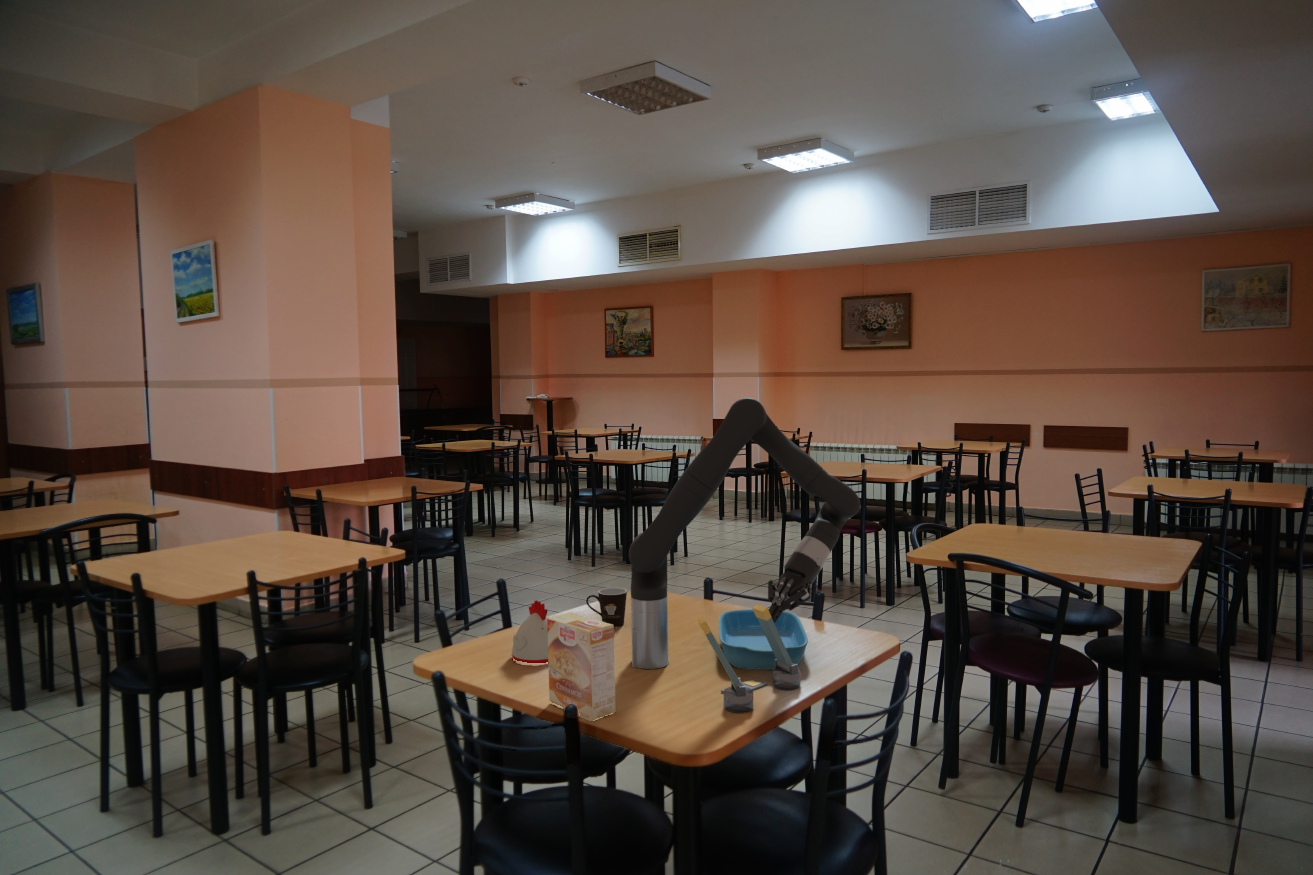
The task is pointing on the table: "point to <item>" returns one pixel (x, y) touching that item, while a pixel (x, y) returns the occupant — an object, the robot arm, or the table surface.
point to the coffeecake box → (581, 664)
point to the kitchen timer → (532, 636)
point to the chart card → (752, 684)
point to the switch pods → (743, 695)
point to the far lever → (773, 636)
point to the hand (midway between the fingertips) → (769, 620)
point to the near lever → (719, 653)
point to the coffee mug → (611, 605)
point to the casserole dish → (759, 639)
